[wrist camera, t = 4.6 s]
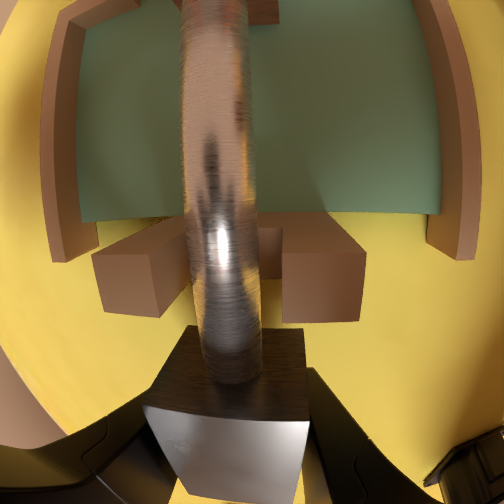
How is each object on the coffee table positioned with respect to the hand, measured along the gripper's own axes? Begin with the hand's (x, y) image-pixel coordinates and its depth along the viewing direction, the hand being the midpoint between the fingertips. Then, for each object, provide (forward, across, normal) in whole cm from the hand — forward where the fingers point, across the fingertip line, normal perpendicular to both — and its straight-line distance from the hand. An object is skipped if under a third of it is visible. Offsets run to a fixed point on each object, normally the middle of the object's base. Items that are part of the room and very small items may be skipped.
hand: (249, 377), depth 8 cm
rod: (+1, 0, -5) cm, 5 cm away
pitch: (+2, 0, -9) cm, 9 cm away
